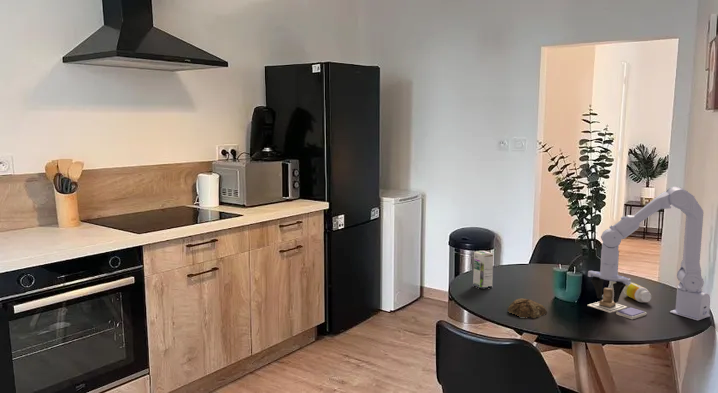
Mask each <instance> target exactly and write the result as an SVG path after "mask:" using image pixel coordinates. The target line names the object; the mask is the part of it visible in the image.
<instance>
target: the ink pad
mask: <svg viewBox="0 0 718 393" xmlns="http://www.w3.org/2000/svg"><path fill="white" fill-rule="evenodd" d="M615 315H618V316H620V317H623V318H626V319H630V320H635V319H638V318H642V317H644V316H647V312H646V311H644V310H641V309H637V308H635V307H627V308H624V309H621V310H618V311H615Z"/></svg>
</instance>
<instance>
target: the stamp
mask: <svg viewBox="0 0 718 393" xmlns="http://www.w3.org/2000/svg"><path fill="white" fill-rule="evenodd" d="M613 297H614V288H612V287H611V288H610V287H604V288H603V291H602V299H601V300H599V301H598V302H599V306H603V307H607V308H612V307H614V306H616V303H617V302H616V303H615V302H614V300H613Z"/></svg>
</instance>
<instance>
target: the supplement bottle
mask: <svg viewBox="0 0 718 393" xmlns="http://www.w3.org/2000/svg"><path fill="white" fill-rule="evenodd" d="M622 291H623V293H624V294H625V296H627V297H629V298H630V299H633V300H635V301H636V302H639V303H648V302H650V301H651V300H652V294H651V293H650V291H649V289H647V288H646V287H643V286H642V285H639V283H638V284H637V283H635V282H633V281H631V284H629V285H626V286H625V287H624V289H623V290H622Z"/></svg>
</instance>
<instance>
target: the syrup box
mask: <svg viewBox="0 0 718 393" xmlns="http://www.w3.org/2000/svg"><path fill="white" fill-rule="evenodd" d="M472 274H473V278H472V279H473V280H472V281H473V283H472V285H473V284H475V285H477V286H479V287H488V286H492V287H493V280H494V279H493V276H494V253H493V252H489V251H486V250H477V251H474V252H473V273H472Z"/></svg>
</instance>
